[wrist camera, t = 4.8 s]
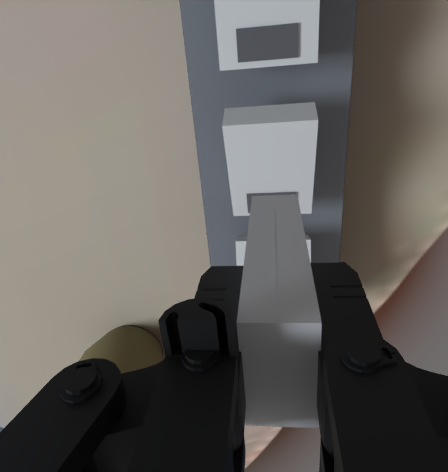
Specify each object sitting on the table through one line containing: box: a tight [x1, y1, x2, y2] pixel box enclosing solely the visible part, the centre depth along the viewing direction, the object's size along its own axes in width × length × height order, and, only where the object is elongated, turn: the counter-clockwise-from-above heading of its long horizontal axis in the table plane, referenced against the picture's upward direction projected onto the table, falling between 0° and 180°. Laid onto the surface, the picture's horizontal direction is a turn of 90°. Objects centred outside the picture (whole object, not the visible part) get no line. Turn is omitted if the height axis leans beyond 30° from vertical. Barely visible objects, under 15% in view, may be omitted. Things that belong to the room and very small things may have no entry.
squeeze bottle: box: [79, 326, 163, 374], centre depth 29 cm, size 8×8×18 cm
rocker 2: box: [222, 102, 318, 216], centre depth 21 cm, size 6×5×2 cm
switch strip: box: [179, 0, 357, 266], centre depth 23 cm, size 28×9×5 cm, turn 5°
